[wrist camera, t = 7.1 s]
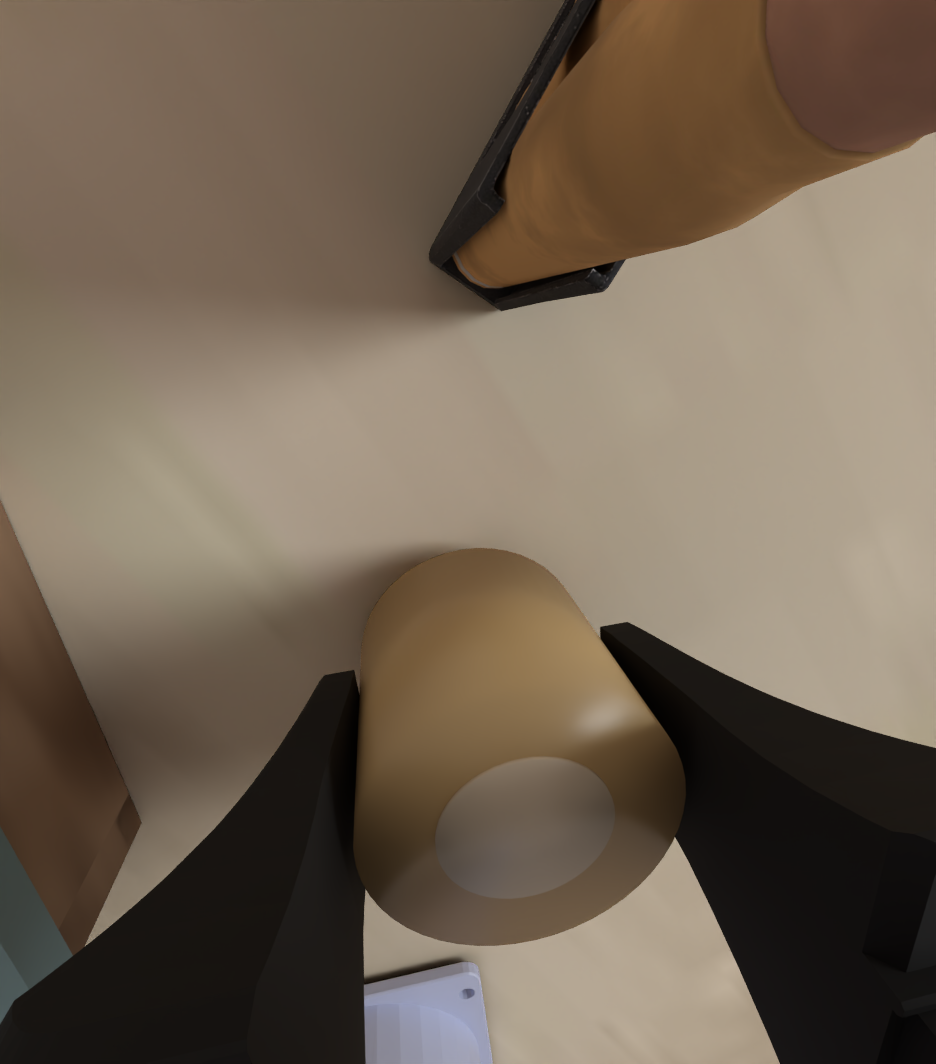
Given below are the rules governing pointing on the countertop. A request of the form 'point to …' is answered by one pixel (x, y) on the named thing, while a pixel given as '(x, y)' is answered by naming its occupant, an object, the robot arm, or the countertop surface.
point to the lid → (24, 932)
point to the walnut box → (54, 761)
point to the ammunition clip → (679, 131)
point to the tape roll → (502, 757)
